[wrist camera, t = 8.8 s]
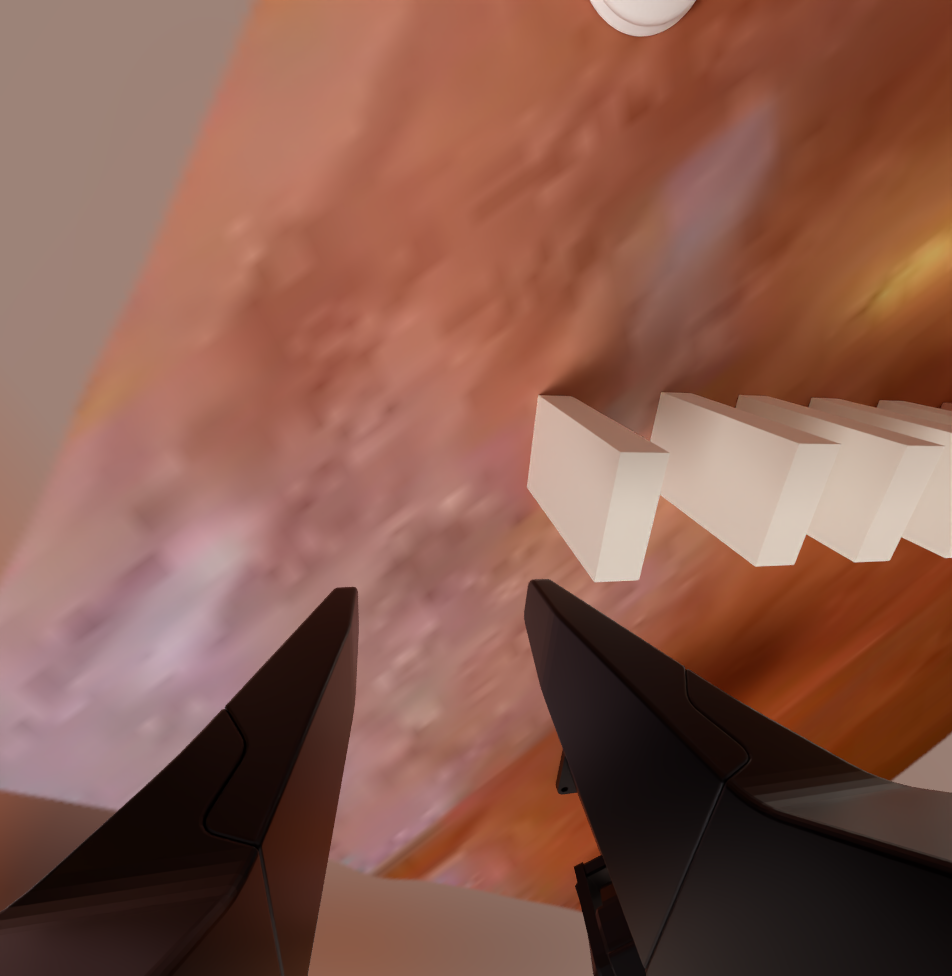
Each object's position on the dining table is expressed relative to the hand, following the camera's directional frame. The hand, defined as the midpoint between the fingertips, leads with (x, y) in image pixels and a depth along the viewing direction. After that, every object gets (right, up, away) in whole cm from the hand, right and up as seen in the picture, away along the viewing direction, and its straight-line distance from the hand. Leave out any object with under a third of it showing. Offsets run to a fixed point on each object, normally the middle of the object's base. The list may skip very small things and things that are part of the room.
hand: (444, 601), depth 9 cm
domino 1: (+4, +4, +12) cm, 14 cm away
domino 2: (+10, +5, +13) cm, 17 cm away
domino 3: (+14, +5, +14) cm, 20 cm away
